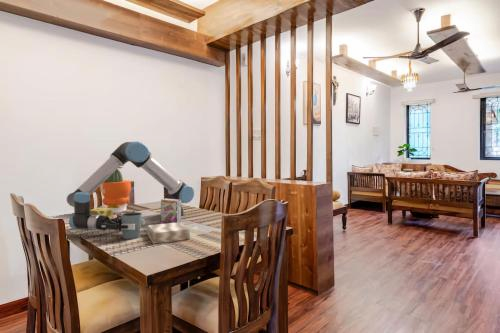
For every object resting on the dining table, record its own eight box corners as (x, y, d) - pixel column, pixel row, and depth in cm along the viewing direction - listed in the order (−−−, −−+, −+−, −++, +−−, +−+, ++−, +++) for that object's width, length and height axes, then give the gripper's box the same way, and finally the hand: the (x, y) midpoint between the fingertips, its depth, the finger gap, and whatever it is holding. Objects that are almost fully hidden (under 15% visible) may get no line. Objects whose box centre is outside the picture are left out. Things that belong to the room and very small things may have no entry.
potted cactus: (92, 213, 218) (92, 163, 216) (111, 207, 240) (111, 162, 238) (120, 214, 215) (120, 164, 213) (137, 208, 237) (137, 162, 235)
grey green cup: (116, 237, 158) (116, 214, 158) (131, 233, 168) (131, 211, 167) (132, 240, 155) (132, 216, 154) (146, 235, 164) (146, 212, 163)
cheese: (102, 228, 177) (101, 211, 176) (85, 227, 179) (85, 210, 179) (113, 224, 187) (113, 207, 187) (97, 223, 189) (97, 207, 189)
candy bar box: (160, 227, 181) (160, 199, 180) (165, 225, 186) (165, 198, 185) (176, 229, 177) (176, 200, 176) (181, 227, 182) (181, 199, 181)
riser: (180, 230, 174) (180, 221, 174) (189, 239, 158) (189, 229, 158) (147, 234, 166) (147, 225, 166) (153, 243, 150) (153, 233, 150)
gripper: (111, 224, 174) (149, 226, 171) (85, 235, 152) (128, 237, 149) (111, 211, 174) (149, 213, 171) (85, 220, 152) (128, 222, 149)
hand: (139, 224), depth 160 cm, fingers closed on grey green cup, 9 cm apart
